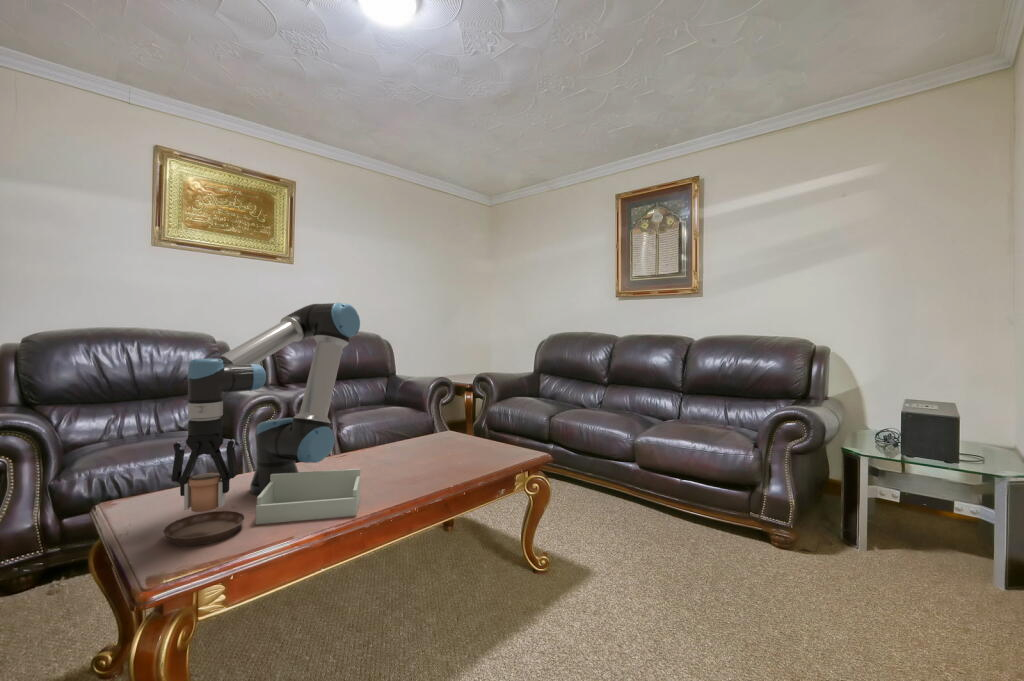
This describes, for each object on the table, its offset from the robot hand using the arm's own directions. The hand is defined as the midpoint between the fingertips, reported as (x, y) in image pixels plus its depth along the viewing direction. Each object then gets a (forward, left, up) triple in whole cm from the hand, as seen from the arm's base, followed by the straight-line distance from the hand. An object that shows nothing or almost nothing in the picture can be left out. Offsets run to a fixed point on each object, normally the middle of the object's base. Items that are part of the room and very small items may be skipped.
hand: (205, 506), depth 119 cm
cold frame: (-11, +24, -7) cm, 27 cm away
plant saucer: (0, 0, -8) cm, 8 cm away
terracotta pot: (0, 0, 0) cm, 0 cm away
